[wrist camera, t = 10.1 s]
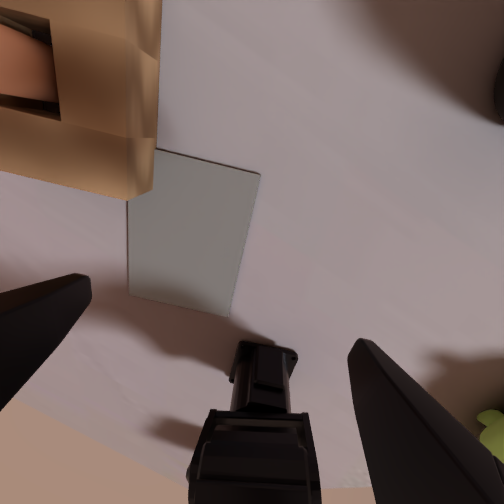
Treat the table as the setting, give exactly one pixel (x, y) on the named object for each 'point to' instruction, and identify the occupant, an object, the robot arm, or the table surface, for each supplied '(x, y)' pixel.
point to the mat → (190, 233)
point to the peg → (26, 67)
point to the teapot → (493, 432)
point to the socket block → (88, 96)
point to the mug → (500, 91)
